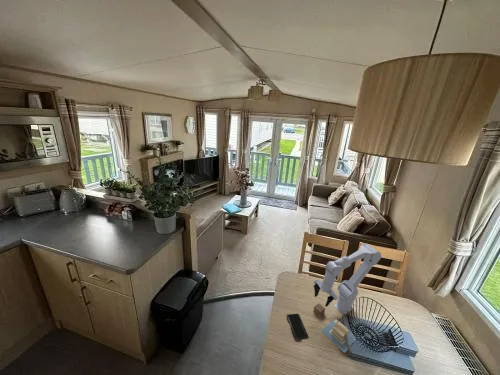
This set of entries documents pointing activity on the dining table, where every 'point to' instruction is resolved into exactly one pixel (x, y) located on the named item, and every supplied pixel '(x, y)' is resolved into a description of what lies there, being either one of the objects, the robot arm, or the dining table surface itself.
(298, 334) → the phone
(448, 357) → the dining table surface
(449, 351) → the dining table surface
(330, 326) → the board
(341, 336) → the maple base block
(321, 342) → the dining table surface
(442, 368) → the dining table surface
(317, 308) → the walnut block
